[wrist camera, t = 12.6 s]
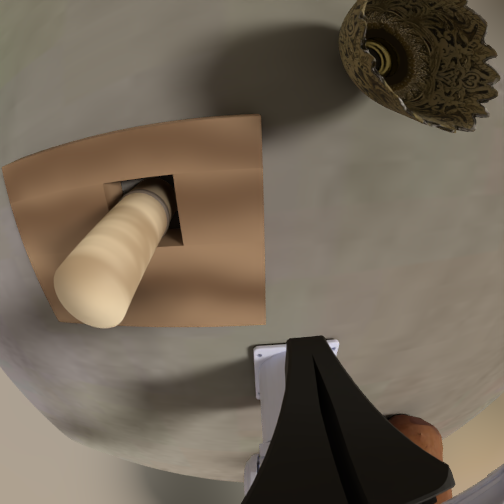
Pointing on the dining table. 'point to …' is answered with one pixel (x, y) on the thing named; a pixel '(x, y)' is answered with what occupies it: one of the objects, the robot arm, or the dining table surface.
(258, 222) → the walnut board
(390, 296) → the dining table surface
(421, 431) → the butternut squash
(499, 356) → the dining table surface
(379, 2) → the cup
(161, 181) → the birch dowel
